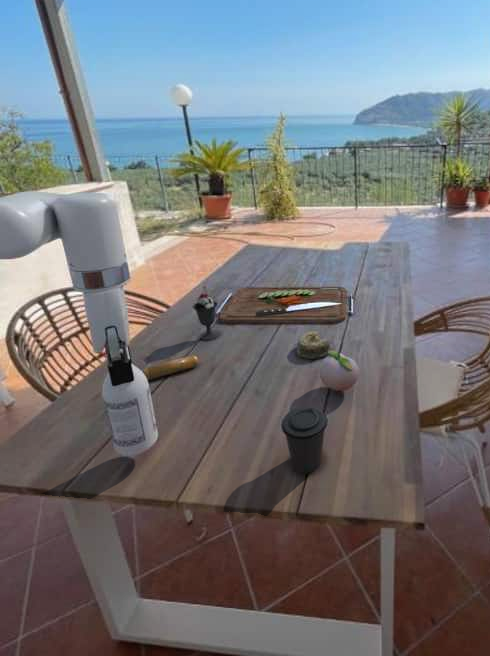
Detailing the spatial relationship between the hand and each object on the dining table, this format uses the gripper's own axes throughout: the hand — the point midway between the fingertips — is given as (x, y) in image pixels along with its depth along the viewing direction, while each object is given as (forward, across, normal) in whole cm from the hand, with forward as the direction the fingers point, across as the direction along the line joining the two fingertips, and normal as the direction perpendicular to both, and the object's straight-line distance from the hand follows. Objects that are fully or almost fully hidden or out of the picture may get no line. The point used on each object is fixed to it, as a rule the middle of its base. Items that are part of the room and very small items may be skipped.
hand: (122, 374), depth 66 cm
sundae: (+18, -40, +21) cm, 48 cm away
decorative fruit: (+17, +2, +41) cm, 44 cm away
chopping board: (+17, -48, +49) cm, 70 cm away
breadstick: (+18, -26, +9) cm, 33 cm away
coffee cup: (+18, +17, +26) cm, 36 cm away
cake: (+17, -17, +44) cm, 50 cm away
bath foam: (+15, 0, 0) cm, 15 cm away
